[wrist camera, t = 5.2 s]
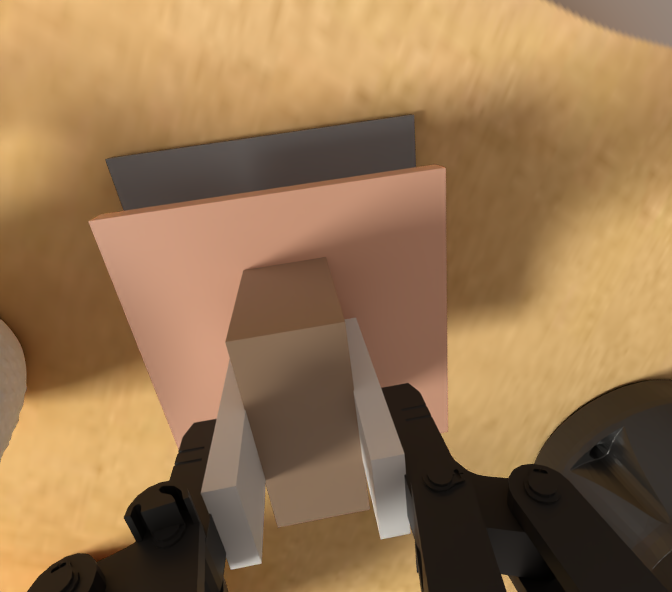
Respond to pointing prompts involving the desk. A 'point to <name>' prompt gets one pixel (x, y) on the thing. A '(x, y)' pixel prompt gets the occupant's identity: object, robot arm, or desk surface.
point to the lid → (290, 315)
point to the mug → (10, 384)
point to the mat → (263, 162)
